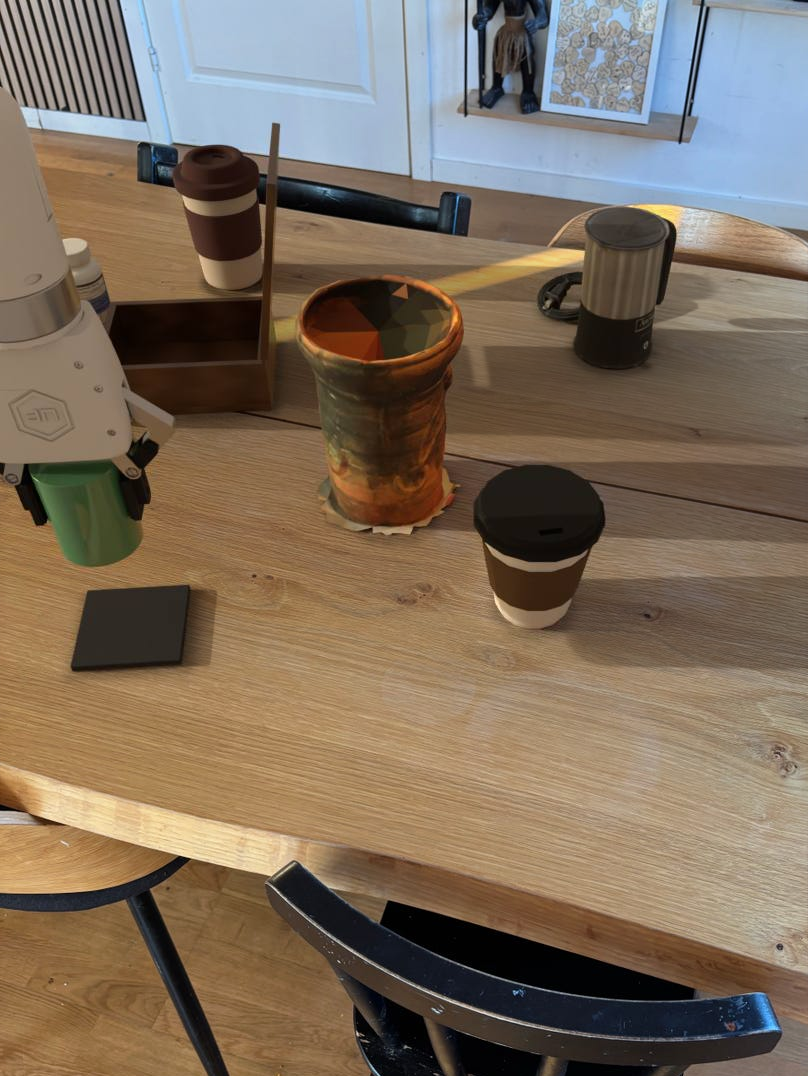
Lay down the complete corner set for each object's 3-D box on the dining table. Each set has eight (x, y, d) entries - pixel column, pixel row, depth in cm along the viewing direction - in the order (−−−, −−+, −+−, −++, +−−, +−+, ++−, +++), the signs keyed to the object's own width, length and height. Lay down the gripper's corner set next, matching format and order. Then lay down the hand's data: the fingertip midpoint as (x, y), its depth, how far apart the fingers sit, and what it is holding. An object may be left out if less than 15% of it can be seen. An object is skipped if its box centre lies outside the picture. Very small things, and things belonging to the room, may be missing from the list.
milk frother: (638, 378, 115) (657, 254, 104) (508, 348, 118) (513, 224, 107) (670, 316, 124) (691, 196, 113) (548, 290, 127) (557, 170, 116)
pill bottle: (66, 317, 121) (41, 239, 114) (111, 308, 123) (89, 231, 116) (72, 340, 118) (47, 261, 111) (119, 331, 120) (97, 252, 112)
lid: (266, 183, 92) (275, 184, 92) (272, 122, 101) (280, 123, 101) (260, 359, 105) (267, 360, 105) (265, 291, 114) (272, 292, 114)
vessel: (436, 558, 95) (431, 374, 80) (294, 526, 97) (264, 343, 82) (480, 465, 104) (484, 285, 89) (350, 439, 107) (333, 259, 92)
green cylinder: (53, 569, 78) (19, 489, 72) (67, 514, 82) (37, 434, 76) (138, 564, 79) (111, 484, 73) (148, 510, 83) (123, 430, 77)
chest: (105, 417, 108) (91, 370, 104) (122, 347, 117) (110, 301, 113) (272, 410, 110) (264, 363, 105) (276, 341, 119) (269, 295, 114)
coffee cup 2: (608, 640, 88) (624, 538, 79) (485, 658, 87) (488, 556, 78) (574, 554, 95) (586, 452, 86) (460, 570, 94) (460, 468, 85)
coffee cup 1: (221, 305, 124) (197, 182, 112) (179, 274, 129) (153, 153, 117) (289, 279, 128) (273, 158, 117) (246, 249, 133) (227, 130, 122)
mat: (72, 671, 85) (69, 666, 85) (88, 594, 91) (87, 590, 90) (181, 664, 86) (179, 659, 85) (190, 588, 92) (189, 584, 91)
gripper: (-143, 336, 62) (-36, 551, 75) (147, 324, 63) (202, 538, 76) (-108, 274, 67) (-13, 486, 80) (160, 264, 68) (210, 474, 81)
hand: (91, 510), depth 78 cm, fingers closed on green cylinder, 6 cm apart
